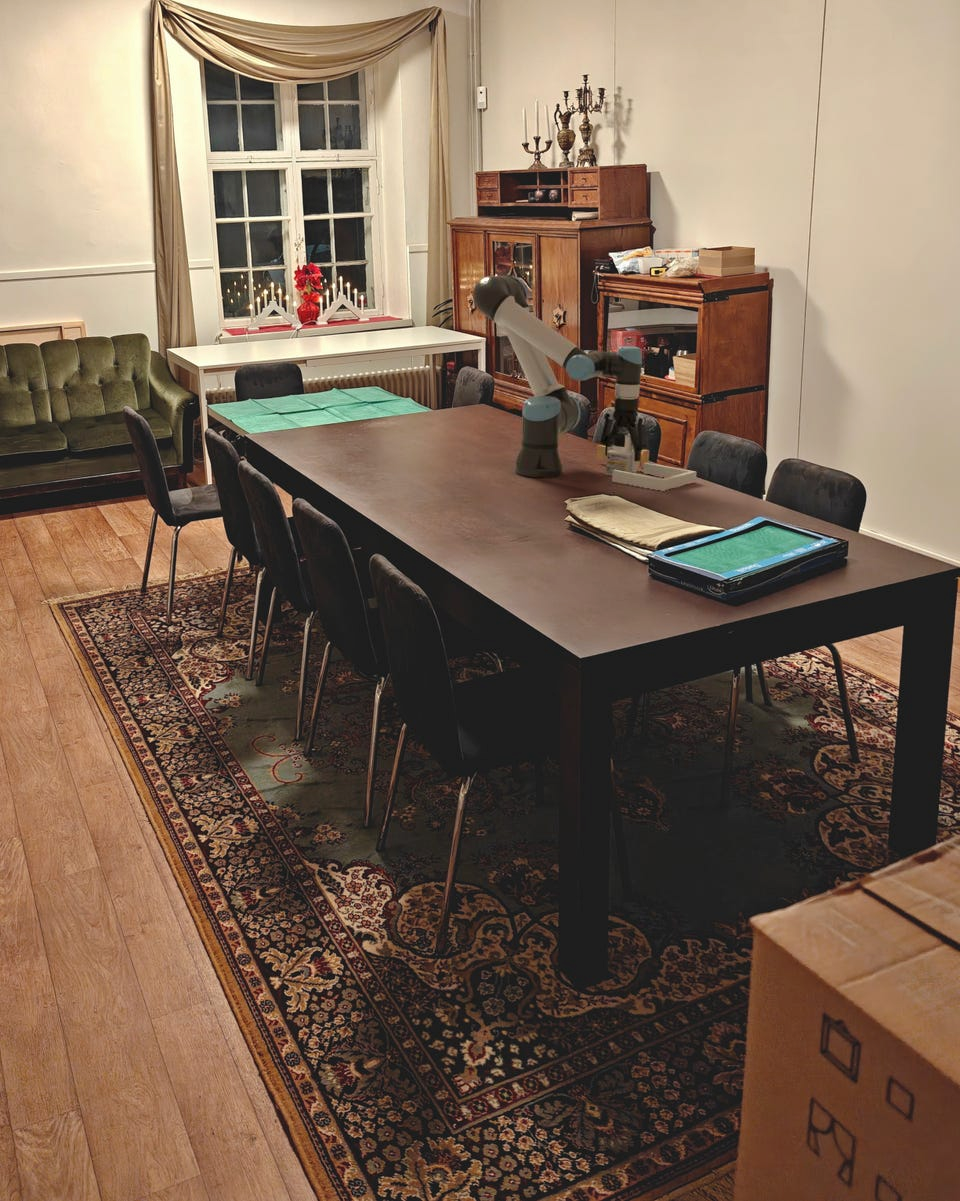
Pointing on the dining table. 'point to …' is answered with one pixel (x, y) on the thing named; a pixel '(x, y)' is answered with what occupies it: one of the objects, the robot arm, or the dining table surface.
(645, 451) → the gate
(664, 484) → the c-shaped frame
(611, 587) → the dining table surface
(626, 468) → the container
